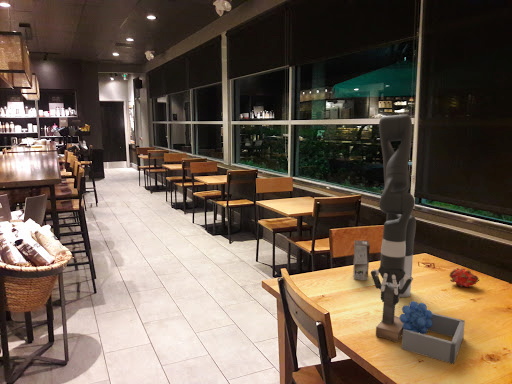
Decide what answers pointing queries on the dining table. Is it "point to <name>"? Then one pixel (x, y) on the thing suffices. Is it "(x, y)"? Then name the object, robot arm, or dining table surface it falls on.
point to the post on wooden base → (389, 318)
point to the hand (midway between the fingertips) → (389, 302)
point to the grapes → (416, 317)
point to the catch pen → (436, 339)
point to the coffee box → (361, 260)
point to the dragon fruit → (463, 277)
